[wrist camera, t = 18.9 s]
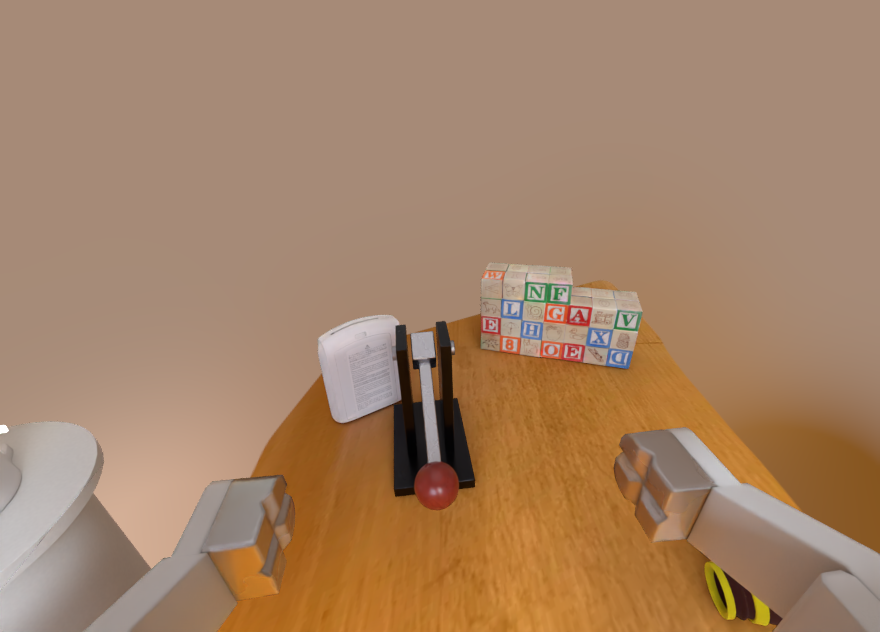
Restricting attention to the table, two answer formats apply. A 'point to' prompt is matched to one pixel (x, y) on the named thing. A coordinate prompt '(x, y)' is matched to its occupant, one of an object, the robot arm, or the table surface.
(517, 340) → the stack of blocks
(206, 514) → the robot arm
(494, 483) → the table surface
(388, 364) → the photo printer
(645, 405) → the table surface
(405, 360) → the bracket
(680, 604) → the table surface
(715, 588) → the opera glasses
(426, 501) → the lever
